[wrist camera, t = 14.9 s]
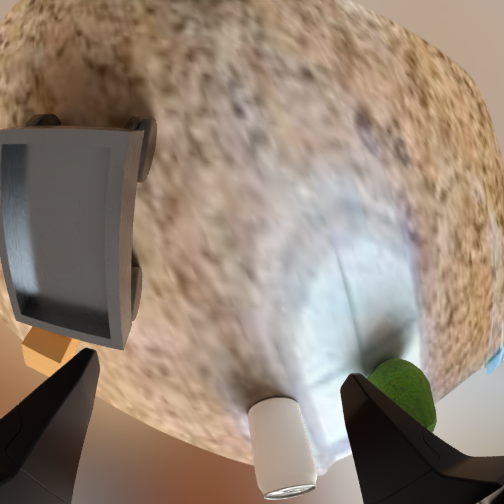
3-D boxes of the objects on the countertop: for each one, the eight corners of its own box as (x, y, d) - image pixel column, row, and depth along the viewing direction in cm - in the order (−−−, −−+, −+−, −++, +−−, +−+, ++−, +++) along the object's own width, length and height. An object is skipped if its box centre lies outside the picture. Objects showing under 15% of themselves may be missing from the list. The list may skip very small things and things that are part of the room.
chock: (81, 339, 23) (61, 382, 18) (48, 324, 22) (25, 364, 17) (85, 295, 21) (59, 340, 16) (49, 279, 20) (18, 318, 15)
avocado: (414, 337, 29) (464, 409, 18) (398, 377, 32) (434, 443, 21) (358, 353, 28) (402, 440, 17) (347, 393, 32) (378, 468, 21)
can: (260, 392, 29) (276, 486, 18) (307, 397, 31) (333, 481, 20) (239, 418, 31) (249, 501, 21) (283, 422, 33) (300, 498, 22)
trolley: (52, 113, 14) (-4, 118, 9) (161, 118, 16) (132, 116, 10) (53, 281, 20) (18, 327, 14) (142, 300, 22) (124, 357, 16)
